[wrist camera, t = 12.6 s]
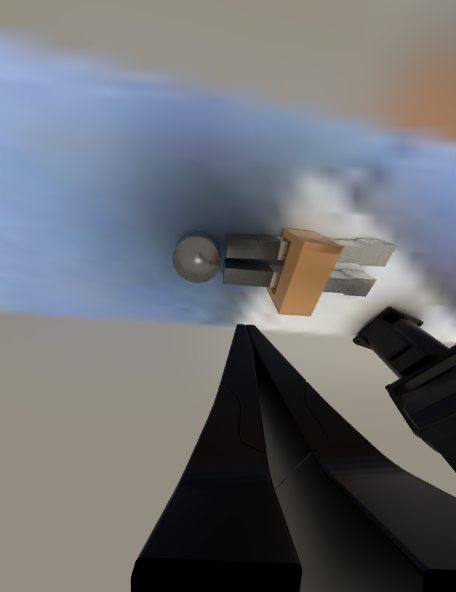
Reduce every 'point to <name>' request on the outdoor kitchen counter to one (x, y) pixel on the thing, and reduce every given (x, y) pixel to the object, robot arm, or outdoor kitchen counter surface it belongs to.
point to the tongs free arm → (278, 246)
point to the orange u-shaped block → (304, 272)
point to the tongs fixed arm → (251, 268)
